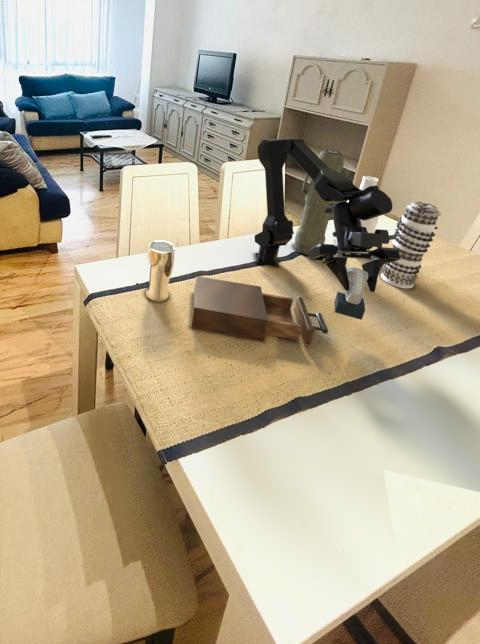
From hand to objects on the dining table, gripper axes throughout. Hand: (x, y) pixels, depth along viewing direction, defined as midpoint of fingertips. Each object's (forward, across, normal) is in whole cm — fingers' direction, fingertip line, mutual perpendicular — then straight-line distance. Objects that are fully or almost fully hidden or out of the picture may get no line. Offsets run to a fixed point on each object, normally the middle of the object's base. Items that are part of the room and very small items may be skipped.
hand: (360, 291), depth 88 cm
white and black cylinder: (-9, +30, +28) cm, 42 cm away
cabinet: (+6, -28, +13) cm, 31 cm away
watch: (+4, 0, +6) cm, 7 cm away
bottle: (-23, +27, +43) cm, 56 cm away
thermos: (-20, +10, +40) cm, 46 cm away
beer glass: (+1, -44, +19) cm, 48 cm away
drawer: (+7, -15, +10) cm, 19 cm away
